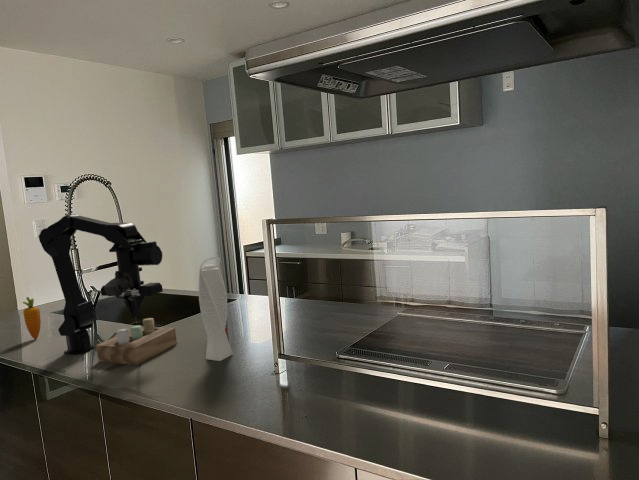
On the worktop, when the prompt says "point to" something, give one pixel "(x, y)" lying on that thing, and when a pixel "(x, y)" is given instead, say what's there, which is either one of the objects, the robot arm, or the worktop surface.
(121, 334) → the plug grey
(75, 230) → the robot arm
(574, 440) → the worktop surface
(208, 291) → the skyscraper
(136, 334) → the plug green
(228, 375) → the worktop surface
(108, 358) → the wooden plug holder
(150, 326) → the plug beech
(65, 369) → the worktop surface
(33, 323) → the carrot
